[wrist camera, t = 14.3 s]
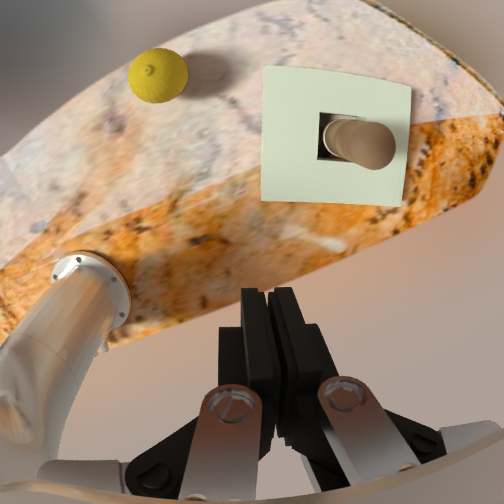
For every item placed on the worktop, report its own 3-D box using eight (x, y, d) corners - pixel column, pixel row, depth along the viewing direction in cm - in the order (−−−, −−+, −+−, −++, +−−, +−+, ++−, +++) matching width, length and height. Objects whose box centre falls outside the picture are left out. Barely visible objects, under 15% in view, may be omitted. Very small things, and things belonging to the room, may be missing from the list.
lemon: (143, 107, 29) (115, 105, 22) (144, 59, 26) (117, 45, 19) (193, 102, 29) (178, 98, 22) (194, 54, 27) (180, 36, 19)
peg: (349, 154, 32) (393, 172, 22) (315, 152, 32) (349, 168, 22) (351, 120, 30) (398, 125, 20) (317, 117, 30) (352, 118, 20)
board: (391, 200, 34) (400, 206, 32) (260, 195, 34) (261, 201, 31) (400, 87, 28) (411, 86, 26) (263, 69, 28) (265, 65, 25)
